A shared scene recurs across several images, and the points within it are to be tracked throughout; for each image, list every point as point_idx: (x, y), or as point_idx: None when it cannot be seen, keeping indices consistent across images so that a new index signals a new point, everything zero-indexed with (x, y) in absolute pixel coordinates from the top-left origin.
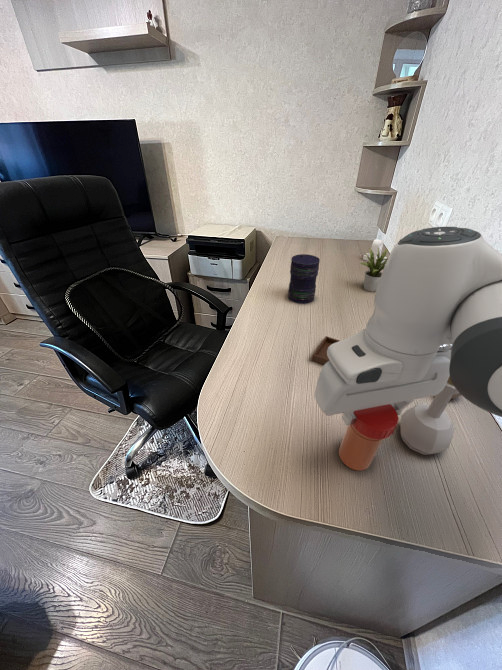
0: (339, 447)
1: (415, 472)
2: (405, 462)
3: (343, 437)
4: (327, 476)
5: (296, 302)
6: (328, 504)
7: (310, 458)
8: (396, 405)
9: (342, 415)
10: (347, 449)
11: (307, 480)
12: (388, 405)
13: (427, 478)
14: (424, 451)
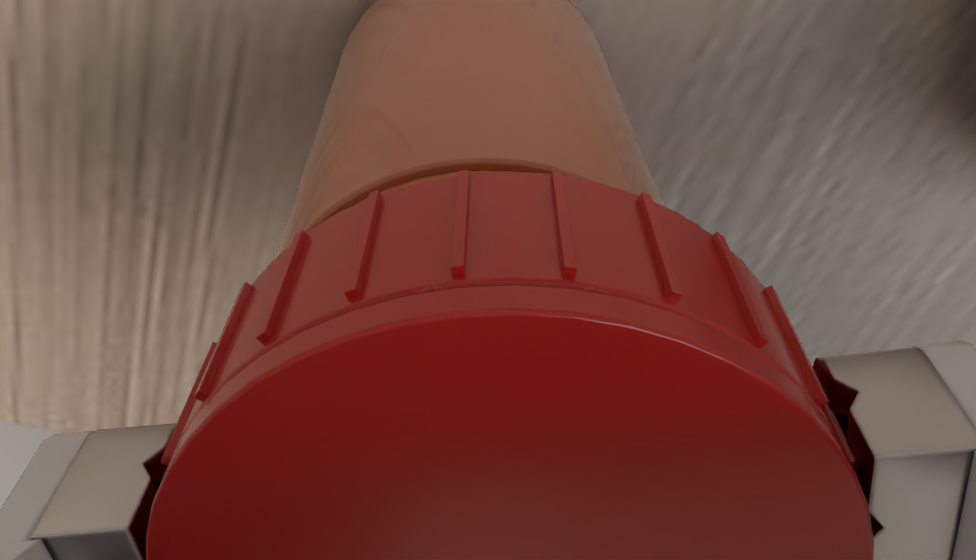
0: (353, 31)
1: (879, 257)
2: (865, 184)
3: (320, 122)
4: (210, 235)
5: None
6: (191, 384)
7: (84, 89)
8: (959, 534)
9: (31, 467)
10: None
11: (58, 249)
12: (812, 537)
13: (928, 299)
14: None
